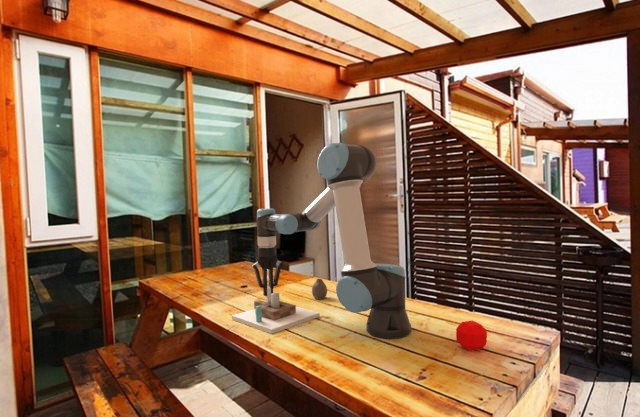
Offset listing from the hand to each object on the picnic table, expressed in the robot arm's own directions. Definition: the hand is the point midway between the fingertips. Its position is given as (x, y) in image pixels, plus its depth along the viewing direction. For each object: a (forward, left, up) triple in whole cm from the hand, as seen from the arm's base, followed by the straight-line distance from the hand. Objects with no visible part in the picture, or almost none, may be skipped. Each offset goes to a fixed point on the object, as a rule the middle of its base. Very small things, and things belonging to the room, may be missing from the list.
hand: (268, 303), depth 162 cm
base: (-10, +4, -3) cm, 11 cm away
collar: (-6, +4, -1) cm, 8 cm away
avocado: (-4, -27, -3) cm, 27 cm away
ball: (-78, -16, -3) cm, 79 cm away
